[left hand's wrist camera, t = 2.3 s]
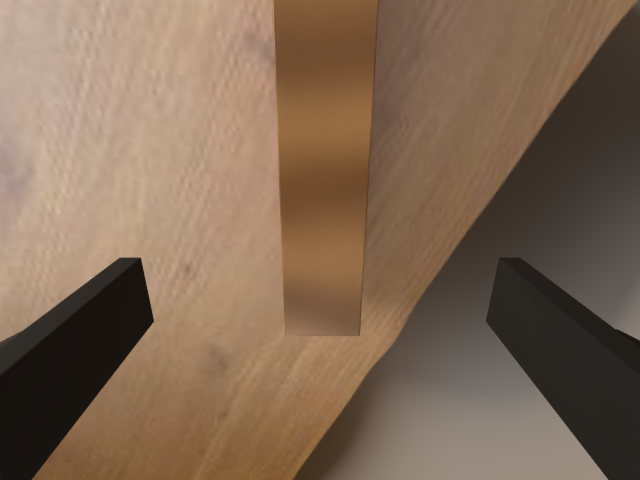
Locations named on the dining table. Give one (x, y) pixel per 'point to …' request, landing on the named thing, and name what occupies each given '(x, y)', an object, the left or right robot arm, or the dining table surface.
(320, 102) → the bar
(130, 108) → the dining table surface
